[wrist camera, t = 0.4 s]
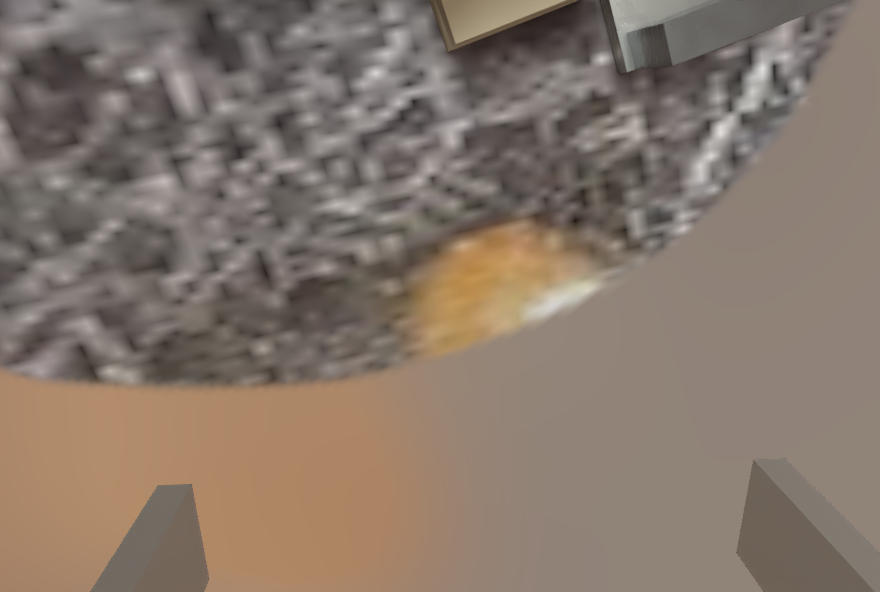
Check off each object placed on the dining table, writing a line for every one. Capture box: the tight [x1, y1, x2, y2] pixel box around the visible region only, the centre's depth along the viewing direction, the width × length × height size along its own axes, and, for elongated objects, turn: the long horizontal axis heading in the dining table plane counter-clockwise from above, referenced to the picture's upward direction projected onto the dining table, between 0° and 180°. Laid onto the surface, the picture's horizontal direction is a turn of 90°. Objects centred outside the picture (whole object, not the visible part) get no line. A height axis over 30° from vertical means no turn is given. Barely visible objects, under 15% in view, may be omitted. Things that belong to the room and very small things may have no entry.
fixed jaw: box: [627, 0, 843, 69], centre depth 30 cm, size 2×9×5 cm, turn 110°
